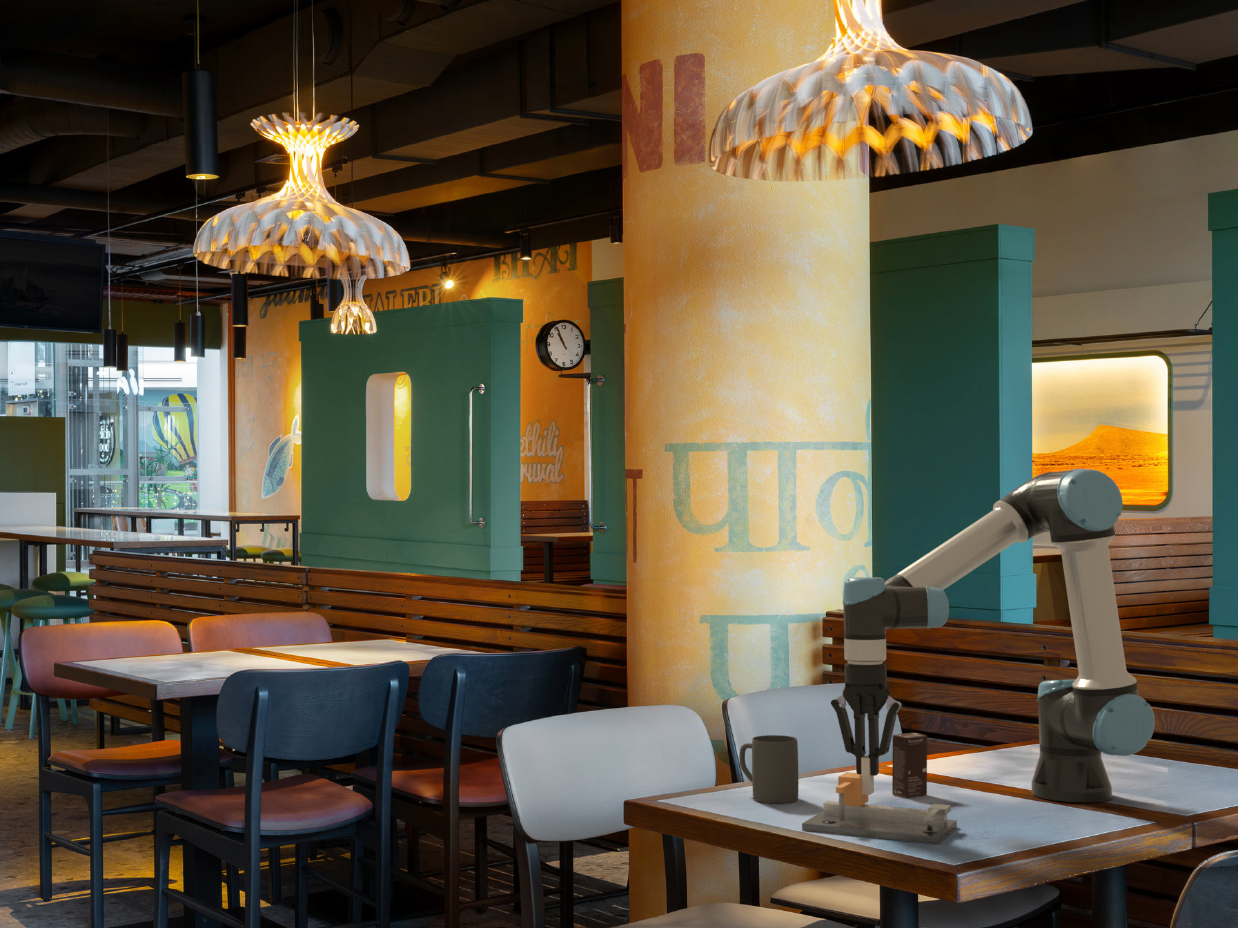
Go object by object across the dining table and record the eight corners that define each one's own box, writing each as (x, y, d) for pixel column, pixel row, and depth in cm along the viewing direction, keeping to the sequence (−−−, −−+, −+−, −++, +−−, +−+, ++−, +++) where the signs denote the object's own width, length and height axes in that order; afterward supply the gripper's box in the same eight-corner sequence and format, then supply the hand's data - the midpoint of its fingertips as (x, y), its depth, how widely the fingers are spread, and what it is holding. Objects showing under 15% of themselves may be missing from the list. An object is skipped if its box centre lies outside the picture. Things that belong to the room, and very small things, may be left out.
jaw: (868, 811, 233) (867, 773, 234) (850, 822, 224) (850, 783, 224) (847, 809, 235) (846, 771, 236) (828, 820, 226) (828, 781, 226)
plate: (956, 827, 227) (956, 819, 227) (937, 843, 215) (937, 836, 215) (827, 814, 238) (827, 807, 239) (802, 830, 226) (802, 822, 226)
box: (908, 798, 253) (906, 737, 254) (891, 794, 257) (890, 734, 257) (929, 794, 256) (928, 734, 257) (912, 791, 260) (911, 731, 261)
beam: (951, 822, 226) (950, 805, 226) (937, 834, 217) (936, 816, 217) (829, 810, 236) (828, 794, 236) (810, 821, 227) (810, 804, 227)
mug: (808, 799, 253) (807, 738, 254) (779, 806, 247) (778, 743, 247) (754, 790, 263) (753, 731, 264) (725, 796, 256) (725, 736, 257)
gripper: (906, 661, 233) (908, 792, 231) (837, 659, 239) (839, 786, 237) (895, 665, 226) (897, 799, 225) (824, 662, 232) (826, 793, 231)
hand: (867, 792), depth 231 cm, fingers closed
